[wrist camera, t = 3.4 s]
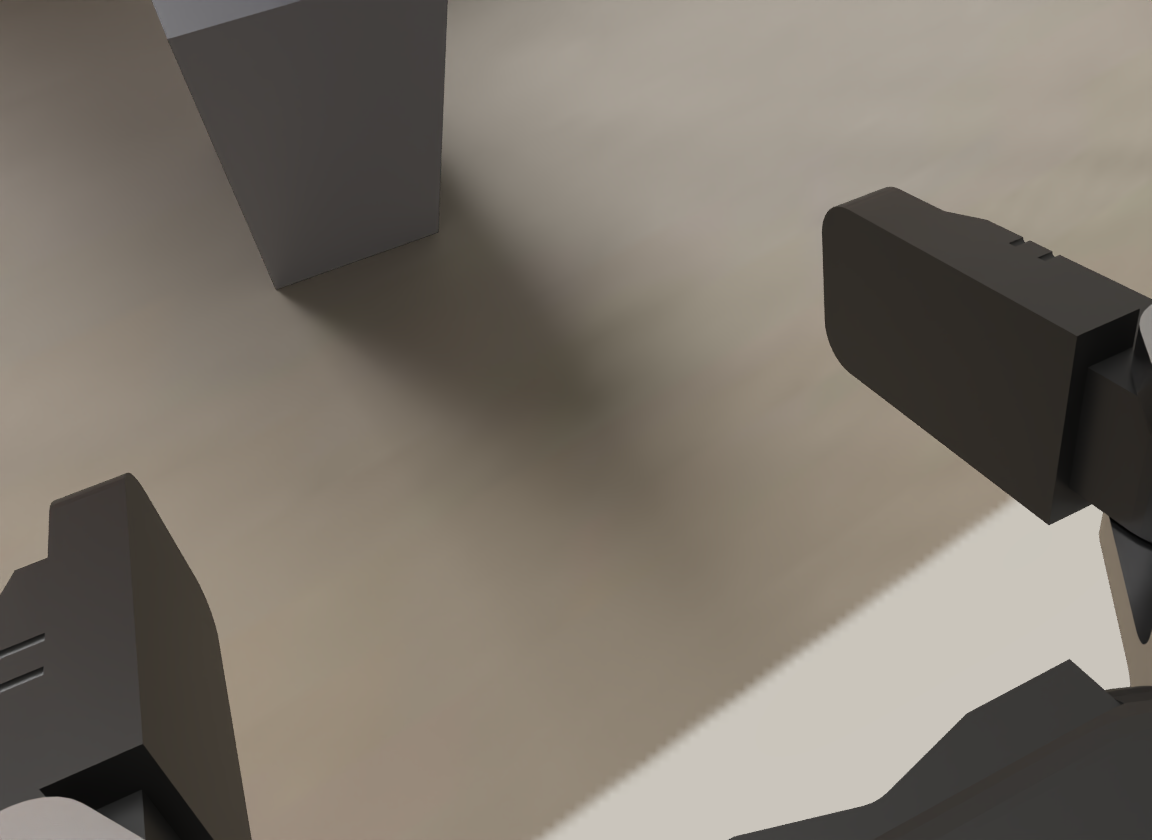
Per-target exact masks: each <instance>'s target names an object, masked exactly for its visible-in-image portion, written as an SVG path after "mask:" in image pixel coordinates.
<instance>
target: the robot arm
mask: <svg viewBox="0 0 1152 840" xmlns="http://www.w3.org/2000/svg"><path fill="white" fill-rule="evenodd" d="M822 245H823V276H824V308H825V328H826V333H827V337H828V340H829V343H830V346H831V348H832V350H833V352H834V354H835V356H836V357H837V359H838V361H839V362H840V363H841V365H842V366H843V367H844V368H845V369H846V370H847V371H848V372H849V373H850V374H852V375H853V376H854V377H856V378H857V379H858V380H860V381H861V382H862V383H863V384H865V385H866V386H867V387H869V388H870V389H871V390H873V391H874V392H875V393H877V394H878V395H879V396H881V397H882V398H883V399H884V400H886V401H887V402H888V403H890V404H891V405H892V406H894V407H895V408H896V409H898V410H899V411H900V412H901V413H903V414H904V415H905V416H907V417H908V418H909V419H911V420H912V421H913V422H915V423H916V424H917V425H918V426H920V427H921V428H922V429H924V430H925V431H926V432H928V433H929V434H930V435H932V436H933V437H934V438H935V439H937V440H938V441H939V442H941V443H942V444H943V445H945V446H946V447H947V448H949V449H950V450H951V451H952V452H954V453H955V454H956V455H958V456H959V457H960V458H962V459H963V460H964V461H966V462H967V463H968V464H969V465H971V466H972V467H973V468H975V469H976V470H977V471H979V472H980V473H981V474H983V475H984V476H985V477H986V478H988V479H989V480H990V481H992V482H993V483H994V484H996V485H997V486H998V487H1000V488H1001V489H1002V490H1003V491H1005V492H1006V493H1007V494H1009V495H1010V496H1011V497H1013V498H1014V499H1015V500H1017V501H1018V502H1019V503H1021V504H1022V505H1023V506H1025V507H1026V508H1027V509H1028V510H1030V511H1031V512H1032V513H1034V514H1035V515H1036V516H1038V517H1039V518H1040V519H1041V520H1043V521H1044V522H1045V523H1047V524H1048V525H1050V524H1053V523H1054V522H1057V521H1059V520H1061V519H1063V518H1065V517H1067V516H1069V515H1071V514H1073V513H1075V512H1077V511H1079V510H1081V509H1083V508H1085V507H1087V506H1089V505H1091V504H1093V505H1094V506H1095V507H1097V508H1098V509H1100V510H1101V511H1102V512H1103V516H1102V521H1101V526H1100V531H1099V538H1100V544H1101V548H1102V553H1103V557H1104V562H1105V566H1106V571H1107V575H1108V580H1109V584H1110V589H1111V593H1112V597H1113V602H1114V607H1115V611H1116V615H1117V620H1118V624H1119V629H1120V633H1121V638H1122V642H1123V647H1124V651H1125V656H1126V660H1127V664H1128V670H1129V675H1130V687H1126V688H1116V689H1109V690H1104V689H1103V688H1102V687H1100V686H1099V685H1098V684H1097V683H1096V682H1095V681H1094V680H1093V679H1091V678H1090V677H1089V676H1088V675H1087V674H1086V673H1085V672H1083V671H1082V670H1081V669H1080V668H1079V667H1078V666H1077V665H1076V664H1074V663H1073V662H1072V661H1071V660H1070V659H1069V660H1067V661H1065V662H1063V663H1061V664H1059V665H1058V666H1056V667H1054V668H1052V669H1050V670H1048V671H1047V672H1045V673H1042V674H1041V675H1039V676H1037V677H1035V678H1033V679H1031V680H1029V681H1027V682H1026V683H1024V684H1022V685H1020V686H1018V687H1016V688H1014V689H1012V690H1010V691H1008V692H1007V693H1005V694H1003V695H1001V696H999V697H997V698H995V699H993V700H991V701H990V702H988V703H986V704H984V705H982V706H980V707H978V708H976V709H975V710H973V711H971V712H969V713H967V714H966V715H965V716H964V717H963V718H962V719H961V720H960V721H959V722H958V723H957V724H956V725H955V726H954V727H953V728H952V729H951V730H950V731H949V732H948V733H947V734H946V735H945V736H944V737H943V738H942V739H941V740H940V741H939V742H938V743H937V744H936V745H935V746H934V747H933V748H932V749H931V750H930V751H929V752H928V753H927V754H926V755H925V756H924V757H923V758H922V759H921V760H920V761H919V762H918V763H917V764H916V765H915V766H914V767H913V768H912V769H911V770H910V771H909V772H908V773H907V774H906V775H905V776H904V777H903V778H902V779H901V780H899V781H898V783H896V784H895V785H894V787H892V789H891V790H889V791H888V792H887V793H886V794H885V795H884V796H883V797H881V798H880V799H878V800H877V801H875V802H873V803H871V804H868V805H865V806H861V807H857V808H853V809H849V810H845V811H840V812H836V813H832V814H828V815H824V816H819V817H815V818H811V819H806V820H802V821H798V822H794V823H790V824H785V825H782V826H777V827H773V828H769V829H764V830H760V831H756V832H752V833H748V834H743V835H739V836H736V837H733V838H731V839H729V840H1152V299H1150V298H1148V297H1146V296H1144V295H1142V294H1140V293H1138V292H1136V291H1134V290H1132V289H1129V288H1127V287H1125V286H1123V285H1121V284H1119V283H1117V282H1115V281H1113V280H1111V279H1109V278H1107V277H1104V276H1102V275H1100V274H1098V273H1096V272H1094V271H1092V270H1090V269H1088V268H1086V267H1084V266H1082V265H1080V264H1077V263H1075V262H1073V261H1071V260H1069V259H1067V258H1065V257H1063V256H1061V255H1059V256H1056V257H1054V256H1053V254H1052V251H1050V250H1048V249H1046V248H1044V247H1042V246H1040V245H1038V244H1036V243H1034V242H1032V241H1028V242H1026V243H1025V242H1024V240H1023V237H1021V236H1019V235H1017V234H1015V233H1013V232H1011V231H1009V230H1007V229H1005V228H1003V227H1001V226H998V225H996V224H994V223H992V222H990V221H988V220H984V219H980V218H975V217H970V216H965V215H960V214H955V213H950V212H945V211H942V210H940V209H938V208H936V207H934V206H932V205H930V204H928V203H926V202H924V201H922V200H920V199H918V198H916V197H914V196H912V195H910V194H908V193H906V192H904V191H902V190H900V189H897V188H895V187H886V188H883V189H880V190H878V191H875V192H872V193H870V194H867V195H865V196H862V197H859V198H857V199H854V200H851V201H849V202H846V203H843V204H841V205H838V206H836V207H833V208H831V209H830V210H829V211H828V212H827V214H826V215H825V218H824V221H823V226H822ZM0 840H252V839H251V833H250V827H249V821H248V815H247V809H246V803H245V797H244V791H243V785H242V779H241V773H240V767H239V761H238V755H237V748H236V742H235V736H234V730H233V724H232V718H231V712H230V706H229V700H228V694H227V688H226V682H225V676H224V670H223V664H222V658H221V652H220V646H219V639H218V634H217V630H216V626H215V623H214V619H213V616H212V613H211V611H210V608H209V605H208V603H207V600H206V598H205V596H204V593H203V591H202V589H201V587H200V585H199V583H198V581H197V579H196V578H195V576H194V574H193V572H192V571H191V569H190V567H189V566H188V564H187V562H186V560H185V559H184V557H183V555H182V554H181V552H180V550H179V549H178V547H177V545H176V543H175V542H174V540H173V538H172V537H171V535H170V533H169V531H168V530H167V528H166V526H165V525H164V523H163V521H162V519H161V518H160V516H159V514H158V513H157V511H156V509H155V508H154V506H153V504H152V502H151V501H150V499H149V497H148V496H147V494H146V492H145V491H144V489H143V487H142V486H141V484H140V483H139V482H138V480H137V479H136V478H135V477H134V476H133V475H132V474H130V473H126V474H123V475H121V476H118V477H115V478H113V479H110V480H107V481H105V482H102V483H99V484H97V485H94V486H91V487H89V488H86V489H84V490H81V491H78V492H76V493H73V494H70V495H68V496H65V497H62V498H60V499H57V500H55V501H53V502H52V503H51V505H50V511H49V538H48V558H46V559H43V560H41V561H38V562H36V563H33V564H30V565H28V566H25V567H23V568H20V569H18V570H15V571H14V573H13V575H12V576H11V578H10V580H9V581H8V583H7V585H6V586H5V588H4V590H3V591H2V593H1V595H0Z"/></svg>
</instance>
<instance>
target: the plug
mask: <svg viewBox="0 0 1152 840" xmlns="http://www.w3.org/2000/svg"><path fill="white" fill-rule="evenodd" d="M152 3H153V5H154V7H155V10H156V12H157V15H158V17H159V20H160V22H161V25H162V27H163V30H164V32H165V34H166V37H167V39H168V42H169V44H170V46H171V49H172V51H173V53H174V55H175V58H176V60H177V62H178V65H179V67H180V69H181V72H182V74H183V76H184V79H185V81H186V83H187V85H188V88H189V90H190V92H191V95H192V97H193V99H194V102H195V104H196V106H197V109H198V111H199V113H200V116H201V118H202V120H203V122H204V125H205V127H206V129H207V132H208V134H209V136H210V139H211V141H212V143H213V146H214V148H215V150H216V152H217V155H218V157H219V159H220V162H221V164H222V166H223V169H224V171H225V173H226V176H227V178H228V180H229V183H230V185H231V187H232V189H233V192H234V194H235V196H236V199H237V201H238V203H239V206H240V208H241V210H242V213H243V215H244V217H245V219H246V222H247V224H248V226H249V229H250V231H251V233H252V236H253V238H254V240H255V243H256V245H257V247H258V249H259V252H260V254H261V256H262V259H263V261H264V263H265V266H266V268H267V270H268V273H269V275H270V277H271V280H272V282H273V284H274V286H275V289H279V288H282V287H285V286H288V285H290V284H293V283H296V282H299V281H302V280H305V279H307V278H310V277H313V276H316V275H319V274H322V273H324V272H327V271H330V270H333V269H336V268H339V267H341V266H344V265H347V264H350V263H353V262H355V261H358V260H361V259H364V258H367V257H370V256H372V255H375V254H378V253H381V252H384V251H387V250H389V249H392V248H395V247H398V246H401V245H404V244H406V243H409V242H412V241H415V240H418V239H421V238H423V237H426V236H429V235H432V234H435V233H438V228H439V203H440V178H441V153H442V128H443V103H444V78H445V53H446V28H447V3H448V0H152Z"/></svg>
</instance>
